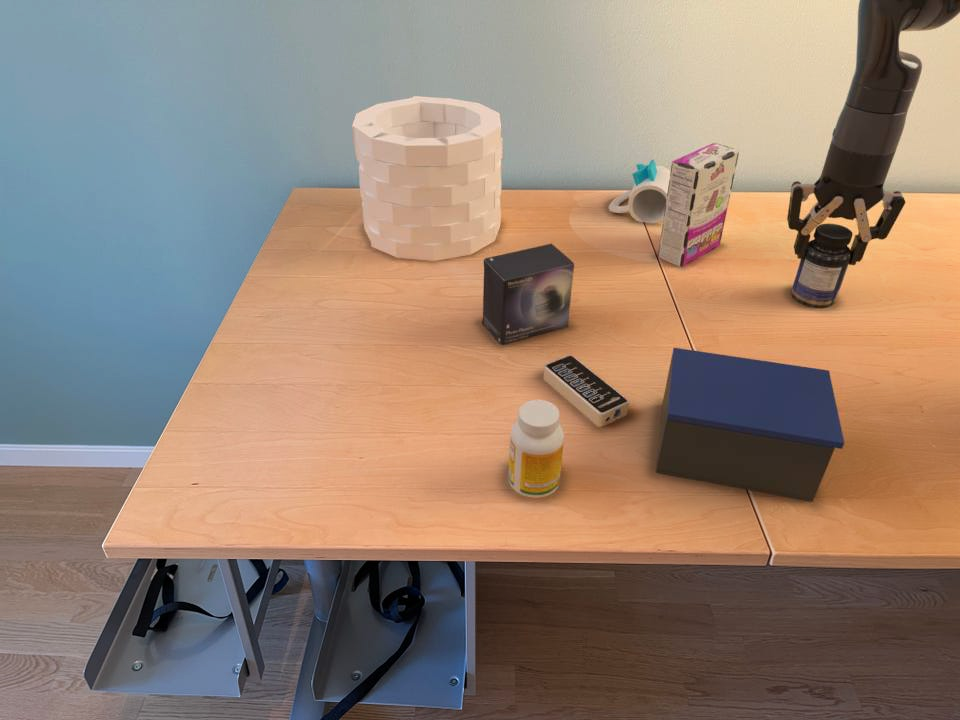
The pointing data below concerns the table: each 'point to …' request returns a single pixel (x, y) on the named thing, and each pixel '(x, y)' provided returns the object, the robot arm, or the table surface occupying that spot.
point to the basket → (429, 176)
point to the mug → (645, 194)
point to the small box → (527, 293)
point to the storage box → (739, 458)
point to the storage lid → (754, 397)
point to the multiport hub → (586, 390)
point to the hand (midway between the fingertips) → (825, 259)
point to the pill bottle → (823, 267)
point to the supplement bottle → (536, 449)
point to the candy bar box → (697, 203)
